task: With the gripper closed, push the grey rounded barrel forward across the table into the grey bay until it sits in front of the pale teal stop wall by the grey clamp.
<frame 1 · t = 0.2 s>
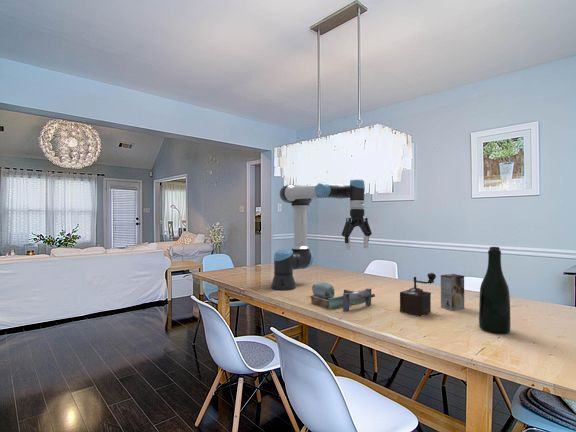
hand: (357, 248, 170), 28 cm above the table, fingers open, 13 cm apart
grey rounded barrel: (322, 297, 178), on the table
bay: (333, 300, 172), on the table
coffee box: (452, 308, 158), on the table
grey clamp: (357, 307, 158), on the table
manual coffee grinder: (418, 311, 153), on the table
dark green wine bottle: (494, 330, 127), on the table
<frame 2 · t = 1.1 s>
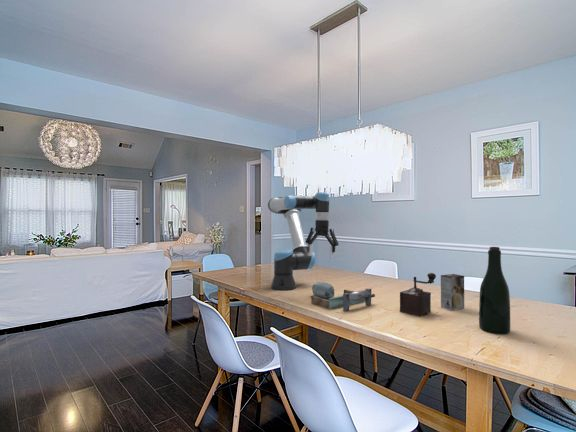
hand: (321, 256, 184), 22 cm above the table, fingers open, 13 cm apart
nothing on the table moved.
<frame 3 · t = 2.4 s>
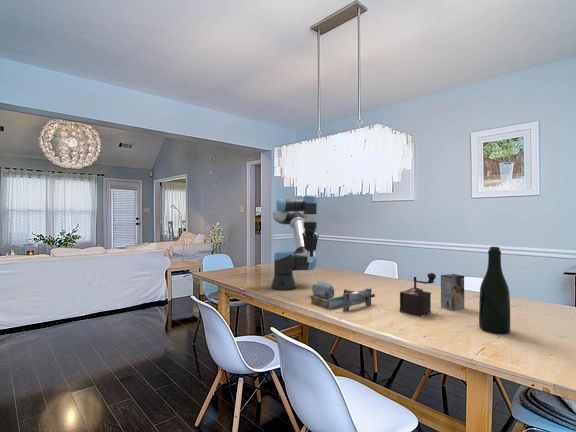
hand: (310, 262, 187), 18 cm above the table, fingers closed
nothing on the table moved.
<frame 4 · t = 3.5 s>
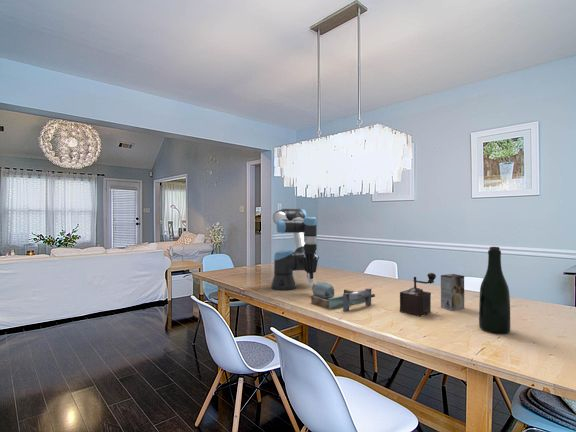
hand: (310, 284, 187), 5 cm above the table, fingers closed
nothing on the table moved.
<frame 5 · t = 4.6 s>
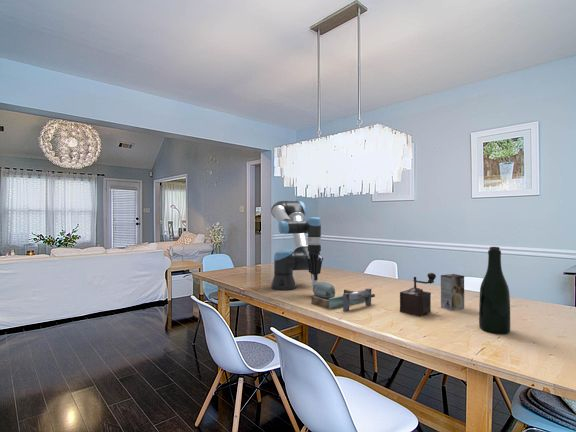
hand: (314, 285, 184), 5 cm above the table, fingers closed
grey rounded barrel: (323, 297, 178), on the table, touching gripper
everything else where it was.
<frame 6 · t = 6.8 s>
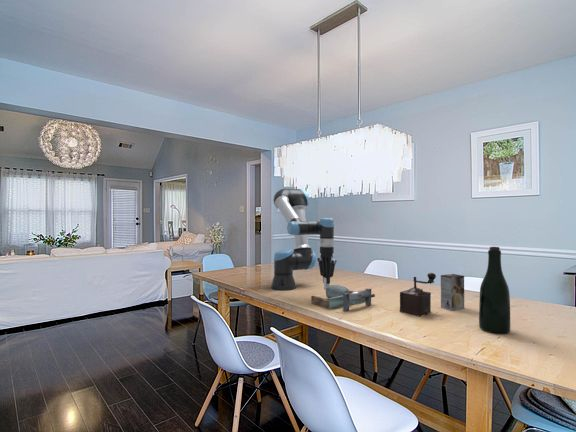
hand: (326, 289, 176), 5 cm above the table, fingers closed
grey rounded barrel: (337, 301, 171), on the table, touching gripper
everything else where it was.
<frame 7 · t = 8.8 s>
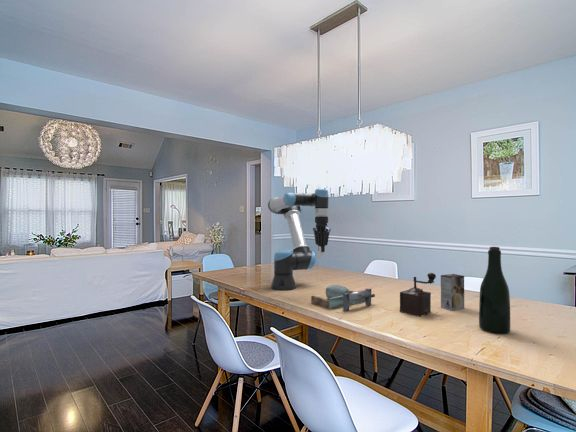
hand: (321, 257, 183), 21 cm above the table, fingers closed
grey rounded barrel: (337, 301, 171), on the table
everything else where it was.
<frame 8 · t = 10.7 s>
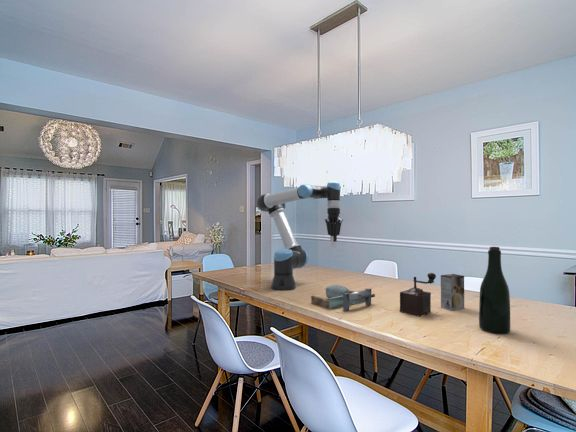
hand: (333, 246, 194), 26 cm above the table, fingers closed
nothing on the table moved.
at the end: grey rounded barrel inside the target area on the bay (1.9 cm from its centre), point 0.0 cm above the bay's base; grey rounded barrel moved 10.3 cm from its start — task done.
